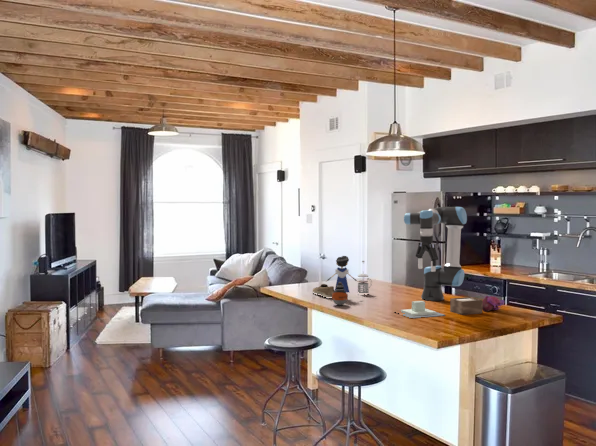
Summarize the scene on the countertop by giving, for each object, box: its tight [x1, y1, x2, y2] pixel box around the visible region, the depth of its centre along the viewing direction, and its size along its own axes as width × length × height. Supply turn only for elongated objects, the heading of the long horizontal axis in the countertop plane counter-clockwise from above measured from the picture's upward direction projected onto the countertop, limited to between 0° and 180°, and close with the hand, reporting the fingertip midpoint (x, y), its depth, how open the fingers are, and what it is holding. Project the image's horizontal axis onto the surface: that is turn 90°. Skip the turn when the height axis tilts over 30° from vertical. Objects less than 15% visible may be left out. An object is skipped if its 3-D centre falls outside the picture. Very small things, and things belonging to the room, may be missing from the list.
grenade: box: [331, 282, 349, 306], centre depth 335 cm, size 11×10×15 cm
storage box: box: [449, 296, 483, 316], centre depth 312 cm, size 11×15×8 cm
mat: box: [402, 311, 446, 319], centre depth 307 cm, size 20×24×1 cm
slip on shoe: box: [312, 283, 335, 298], centre depth 373 cm, size 30×11×9 cm, turn 16°
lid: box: [400, 300, 437, 316], centre depth 307 cm, size 12×16×7 cm
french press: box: [357, 260, 373, 293], centre depth 378 cm, size 10×12×25 cm
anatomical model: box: [482, 295, 505, 312], centre depth 319 cm, size 12×10×15 cm
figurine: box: [325, 255, 359, 293], centre depth 361 cm, size 23×9×30 cm, turn 86°
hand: (426, 270), depth 314 cm, fingers open, 13 cm apart
